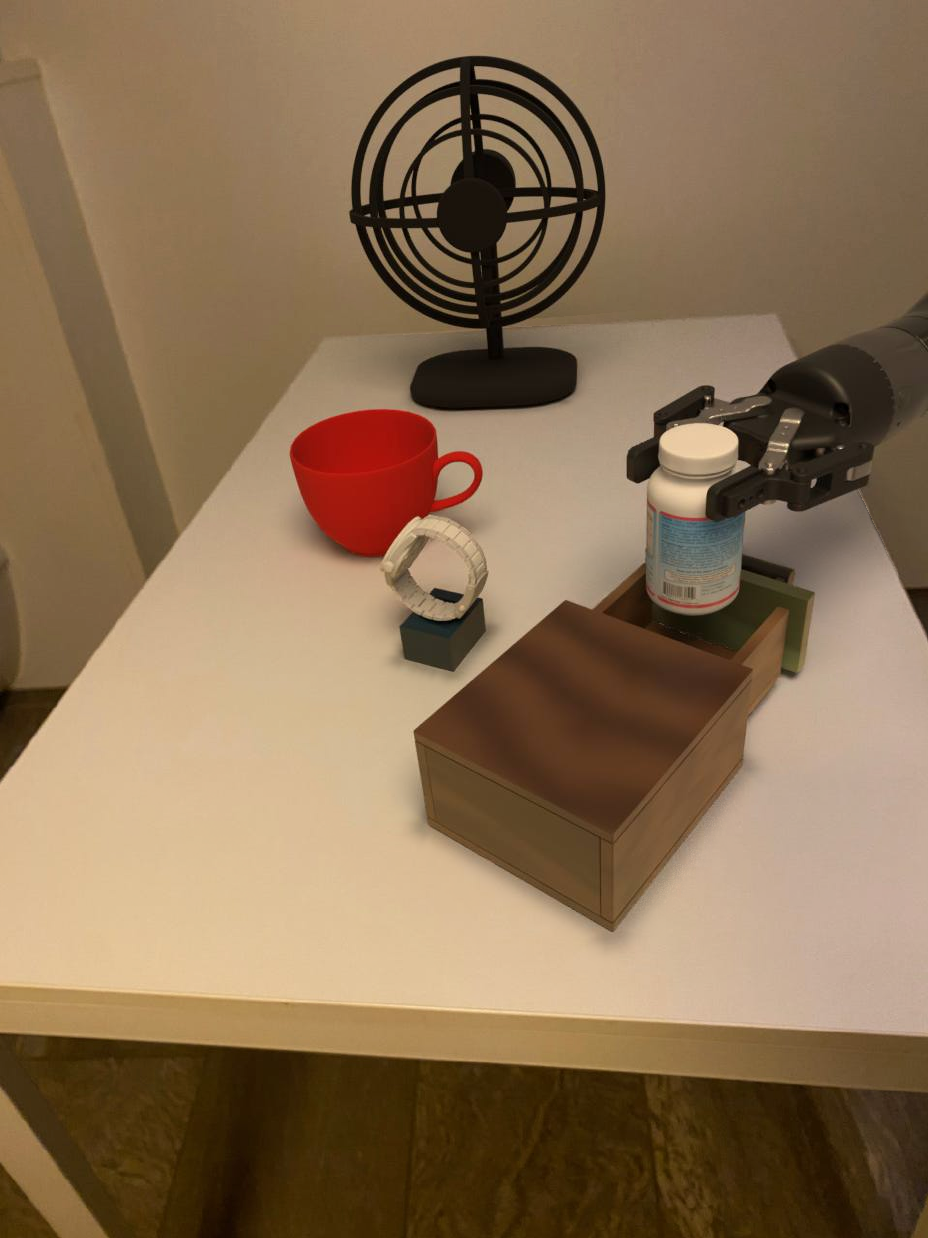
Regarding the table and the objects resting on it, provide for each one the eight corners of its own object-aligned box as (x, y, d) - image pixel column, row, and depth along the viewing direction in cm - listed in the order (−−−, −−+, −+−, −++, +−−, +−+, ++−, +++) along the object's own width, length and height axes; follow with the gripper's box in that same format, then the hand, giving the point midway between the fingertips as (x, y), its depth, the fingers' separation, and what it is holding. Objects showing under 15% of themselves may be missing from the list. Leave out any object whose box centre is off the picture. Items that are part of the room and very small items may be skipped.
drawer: (681, 581, 78) (684, 514, 74) (831, 631, 71) (843, 559, 67) (543, 714, 67) (539, 642, 63) (706, 788, 60) (712, 712, 56)
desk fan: (369, 422, 111) (314, 77, 90) (394, 363, 125) (351, 53, 104) (606, 413, 107) (605, 51, 86) (605, 354, 121) (604, 30, 100)
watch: (417, 614, 79) (400, 496, 73) (505, 635, 76) (495, 513, 69) (382, 653, 75) (360, 533, 69) (473, 677, 72) (460, 553, 65)
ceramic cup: (473, 582, 82) (462, 477, 76) (289, 572, 86) (265, 472, 80) (501, 506, 92) (494, 409, 86) (335, 501, 96) (318, 407, 90)
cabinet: (568, 690, 70) (565, 599, 65) (742, 765, 62) (753, 668, 57) (428, 825, 61) (412, 730, 56) (612, 932, 53) (613, 833, 48)
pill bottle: (758, 593, 63) (774, 438, 57) (690, 631, 61) (699, 474, 54) (691, 556, 67) (699, 407, 61) (626, 590, 65) (626, 439, 58)
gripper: (934, 483, 62) (757, 587, 55) (758, 417, 72) (589, 498, 65) (958, 373, 58) (769, 471, 51) (767, 319, 68) (587, 394, 60)
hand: (669, 486), depth 58 cm, fingers closed on pill bottle, 6 cm apart
